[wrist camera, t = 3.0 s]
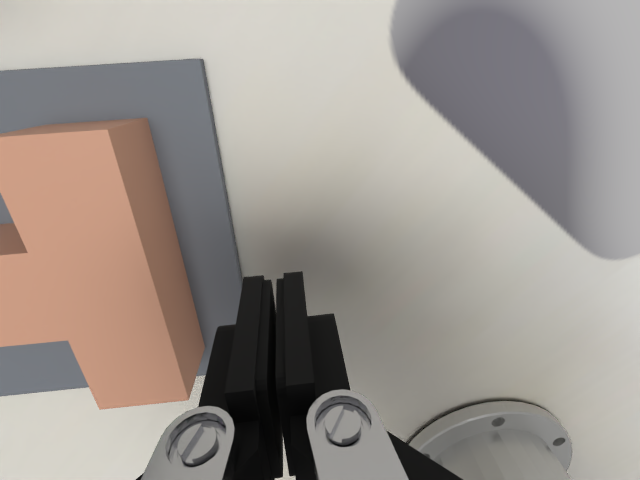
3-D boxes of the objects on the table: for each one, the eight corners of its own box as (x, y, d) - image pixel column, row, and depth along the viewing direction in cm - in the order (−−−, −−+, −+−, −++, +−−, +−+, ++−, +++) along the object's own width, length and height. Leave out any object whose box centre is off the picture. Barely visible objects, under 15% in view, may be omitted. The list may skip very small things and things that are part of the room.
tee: (205, 347, 19) (188, 399, 16) (-4, 368, 19) (-62, 426, 16) (147, 117, 14) (107, 129, 11) (-140, 137, 14) (-267, 155, 11)
